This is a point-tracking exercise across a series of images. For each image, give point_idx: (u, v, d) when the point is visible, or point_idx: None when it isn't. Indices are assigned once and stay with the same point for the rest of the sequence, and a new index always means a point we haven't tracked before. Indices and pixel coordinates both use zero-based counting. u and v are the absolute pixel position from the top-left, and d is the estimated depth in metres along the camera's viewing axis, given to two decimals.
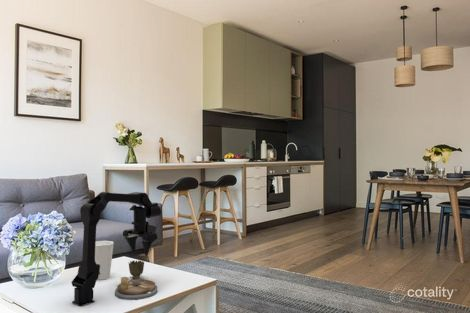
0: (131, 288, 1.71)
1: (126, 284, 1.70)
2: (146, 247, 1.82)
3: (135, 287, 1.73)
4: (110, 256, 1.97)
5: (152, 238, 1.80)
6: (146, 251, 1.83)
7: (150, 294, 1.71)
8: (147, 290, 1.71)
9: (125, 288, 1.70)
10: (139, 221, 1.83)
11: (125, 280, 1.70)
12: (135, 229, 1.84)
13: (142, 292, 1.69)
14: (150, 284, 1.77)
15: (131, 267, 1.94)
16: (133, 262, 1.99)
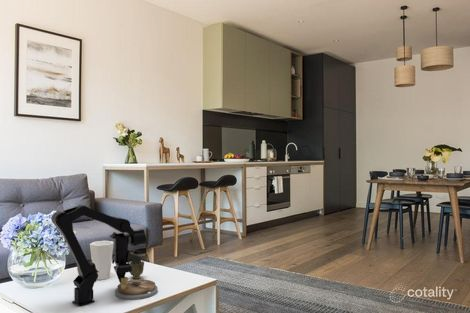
0: (131, 288, 1.71)
1: (126, 284, 1.70)
2: (119, 276, 1.72)
3: (135, 287, 1.73)
4: (110, 256, 1.97)
5: (123, 270, 1.65)
6: None
7: (150, 294, 1.71)
8: (147, 290, 1.71)
9: (125, 288, 1.70)
10: (117, 250, 1.71)
11: (125, 280, 1.70)
12: (115, 258, 1.72)
13: (142, 292, 1.69)
14: (150, 284, 1.77)
15: None
16: (133, 262, 1.99)
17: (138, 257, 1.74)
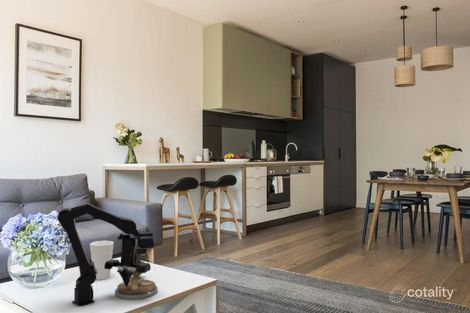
0: (140, 287, 1.72)
1: (138, 284, 1.70)
2: (128, 278, 1.69)
3: (140, 286, 1.74)
4: (110, 256, 1.97)
5: (147, 269, 1.67)
6: (128, 282, 1.70)
7: (150, 294, 1.71)
8: None
9: (137, 288, 1.69)
10: (130, 251, 1.68)
11: (137, 280, 1.69)
12: (125, 260, 1.67)
13: (153, 288, 1.74)
14: (146, 281, 1.81)
15: None
16: None
17: (140, 256, 1.76)
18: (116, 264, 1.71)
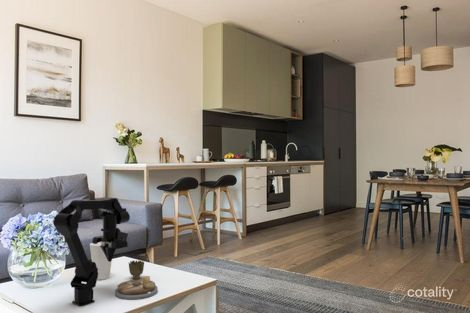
0: None
1: None
2: (109, 253, 1.77)
3: (143, 284, 1.76)
4: None
5: (121, 246, 1.72)
6: (110, 258, 1.77)
7: (150, 294, 1.71)
8: None
9: None
10: (108, 228, 1.75)
11: None
12: (104, 236, 1.76)
13: None
14: (136, 281, 1.82)
15: (131, 267, 1.94)
16: (133, 262, 1.99)
17: (125, 234, 1.82)
18: None
